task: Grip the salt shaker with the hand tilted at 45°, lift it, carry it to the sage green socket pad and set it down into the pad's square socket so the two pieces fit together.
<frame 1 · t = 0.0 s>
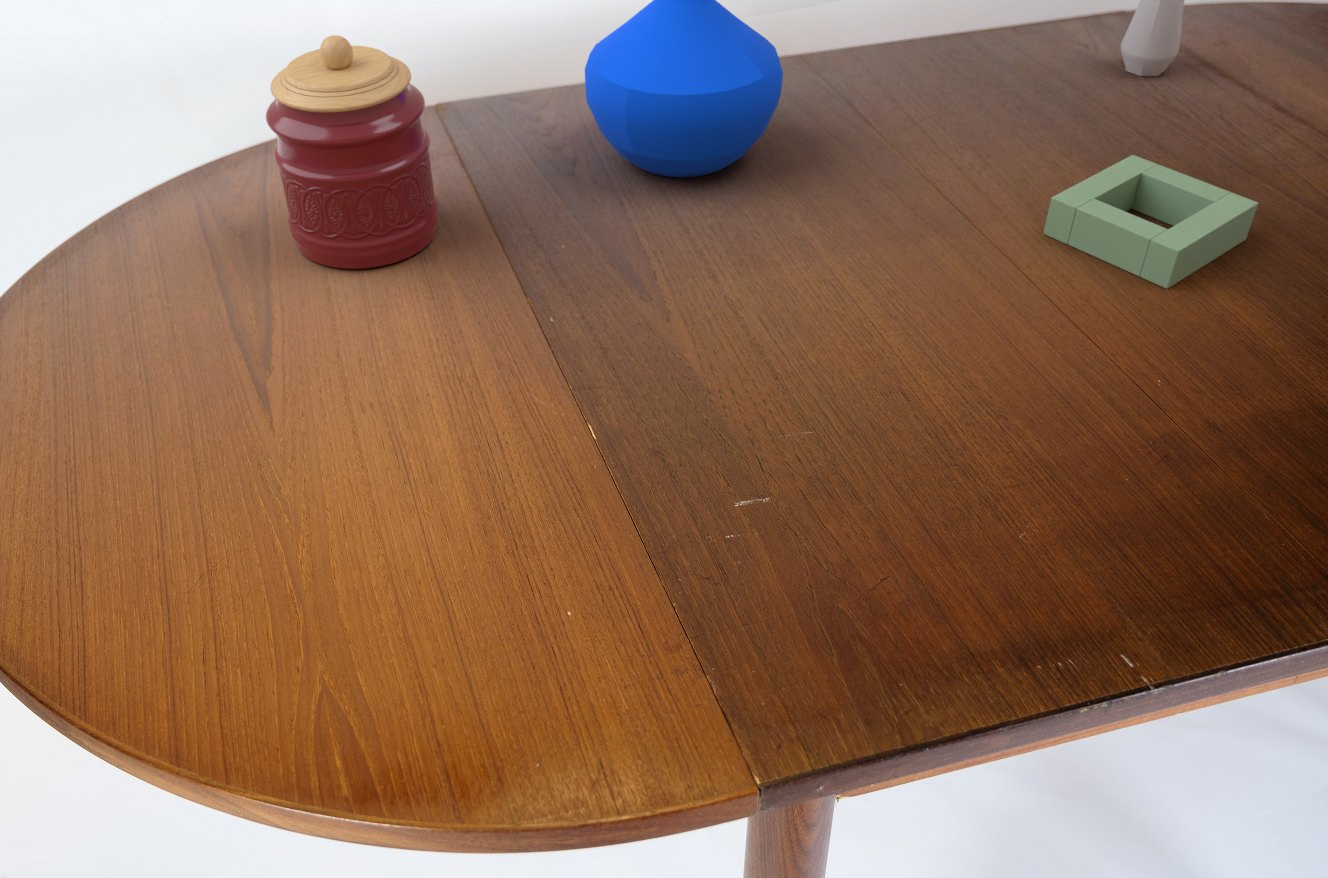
vase: (681, 156, 120), on the table
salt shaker: (1143, 70, 133), on the table
pad socket: (1143, 236, 106), on the table
kitchen canister: (367, 236, 110), on the table
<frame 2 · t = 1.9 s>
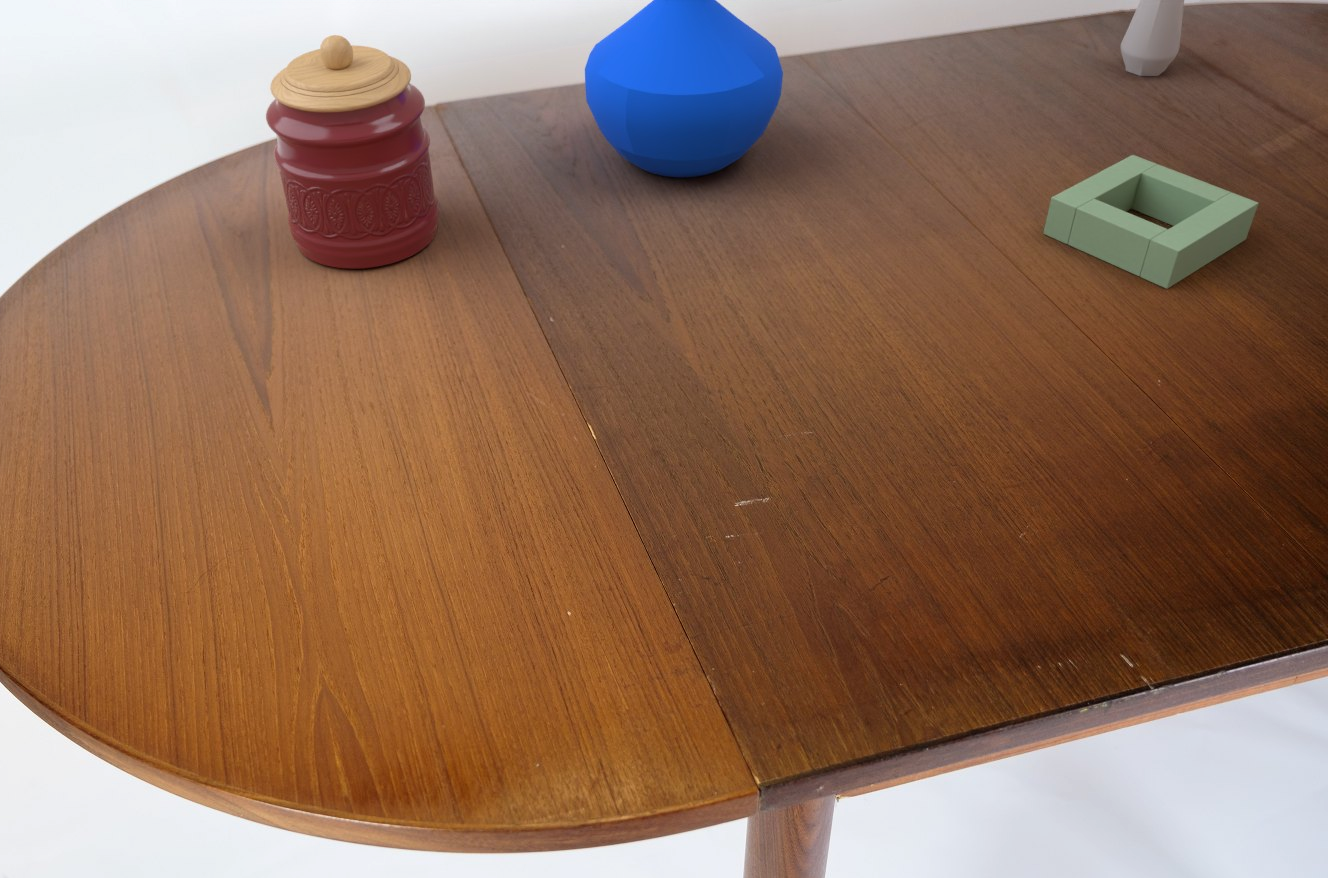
nothing on the table moved.
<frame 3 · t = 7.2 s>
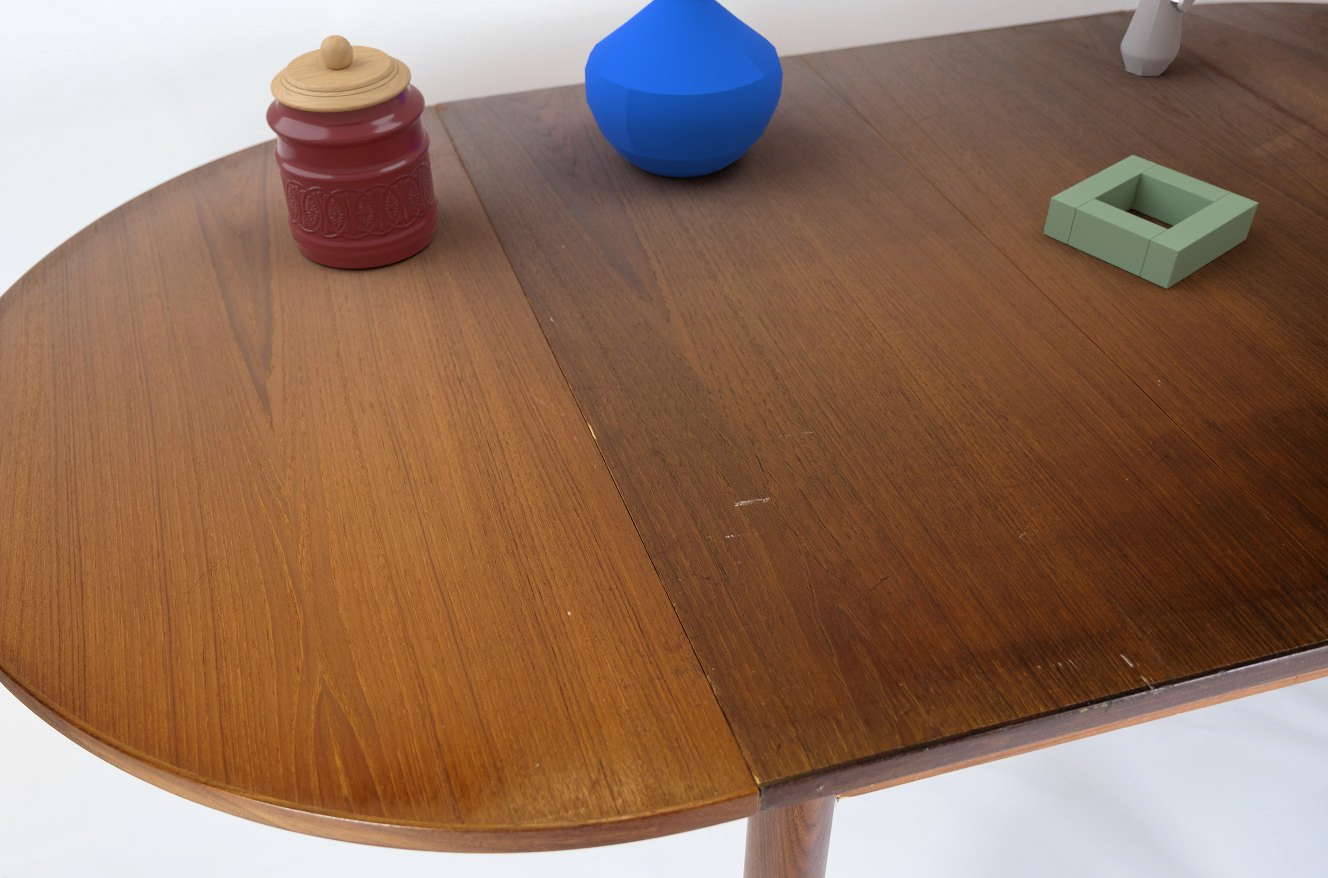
hand: (1157, 2, 128), 7 cm above the table, tool tilted 45°, fingers closed on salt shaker, 3 cm apart
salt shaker: (1143, 70, 133), on the table, touching gripper
everything else where it was.
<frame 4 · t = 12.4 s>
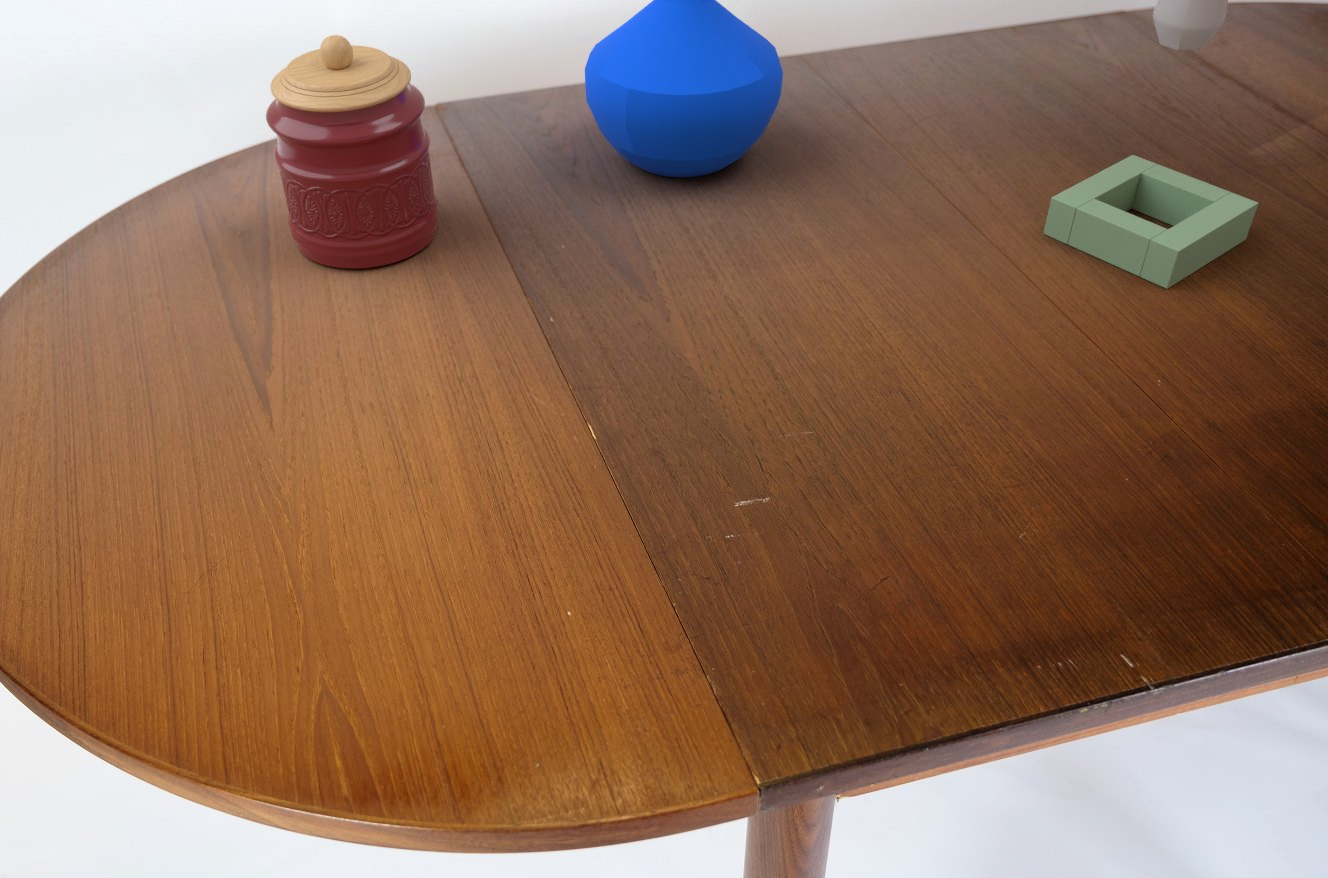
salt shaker: (1181, 44, 108), point 12 cm above the table, touching gripper
everything else where it was.
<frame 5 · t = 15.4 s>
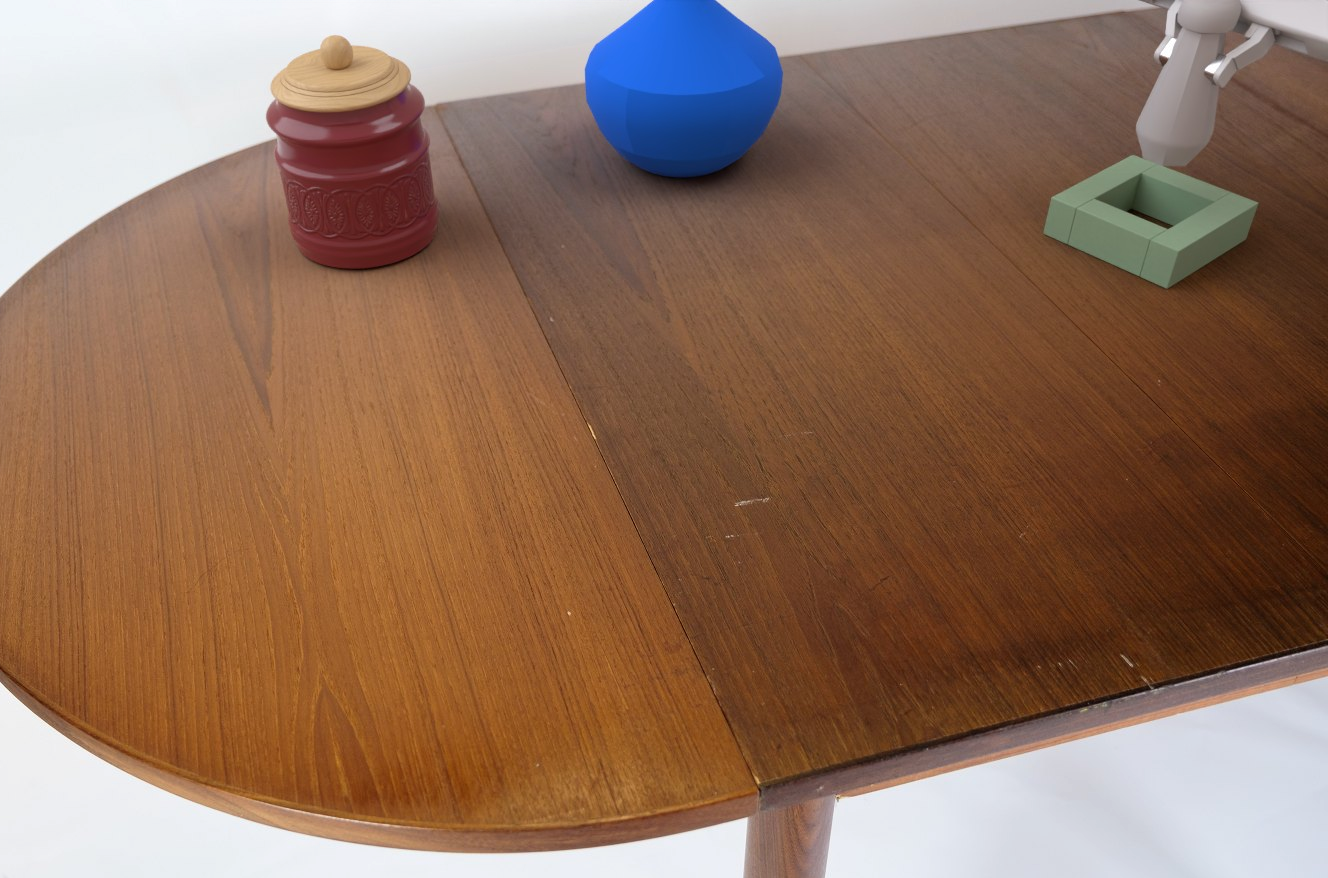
hand: (1186, 72, 96), 15 cm above the table, tool tilted 45°, fingers closed on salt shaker, 3 cm apart
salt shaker: (1165, 157, 101), point 7 cm above the table, touching gripper
everything else where it was.
when the fingers open (7 cm above the table, at t = 17.7 s): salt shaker stays where it is, resting in pad socket.
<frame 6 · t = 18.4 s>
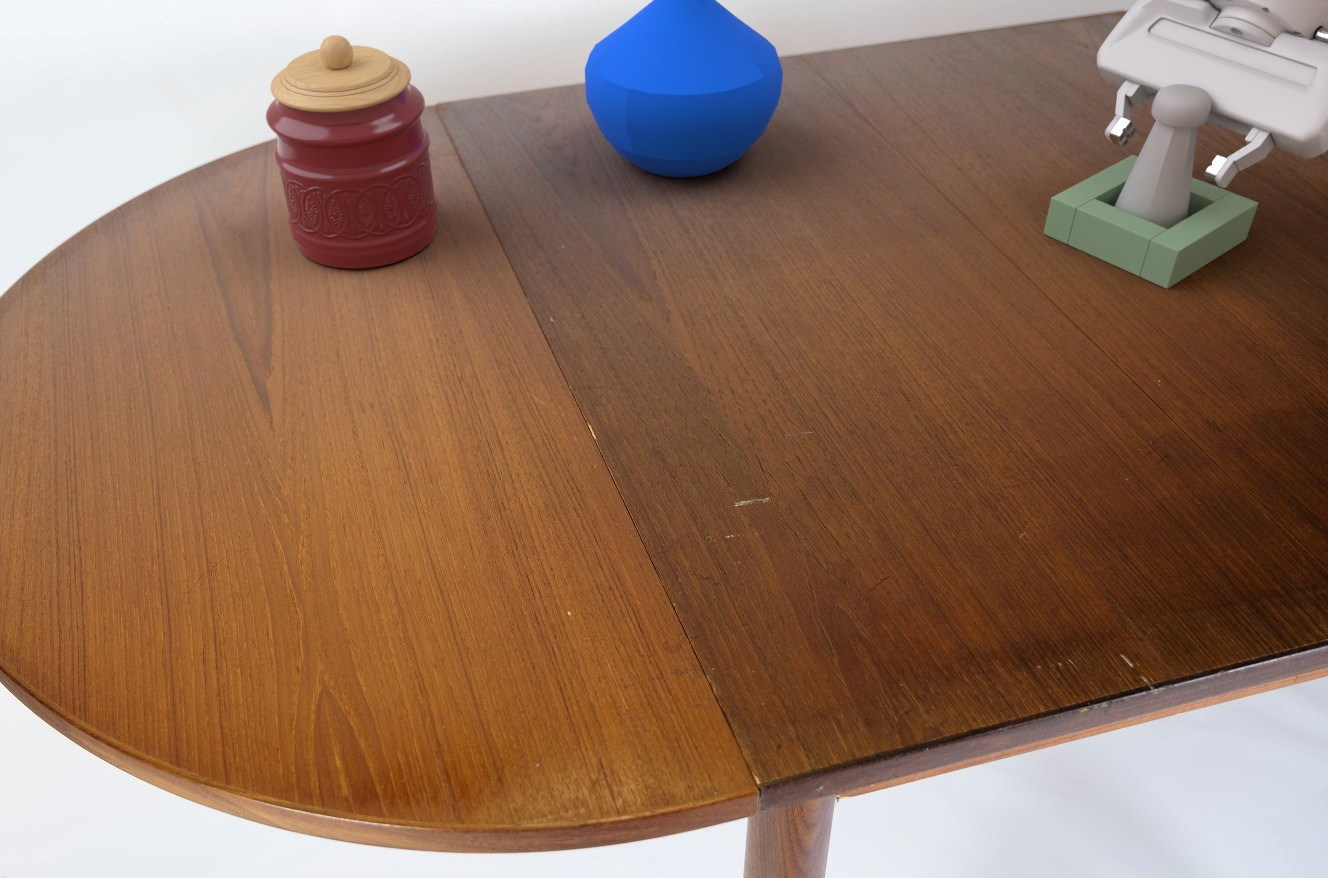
hand: (1162, 160, 101), 7 cm above the table, tool tilted 45°, fingers open, 8 cm apart
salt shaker: (1142, 238, 106), resting in pad socket
everything else where it was.
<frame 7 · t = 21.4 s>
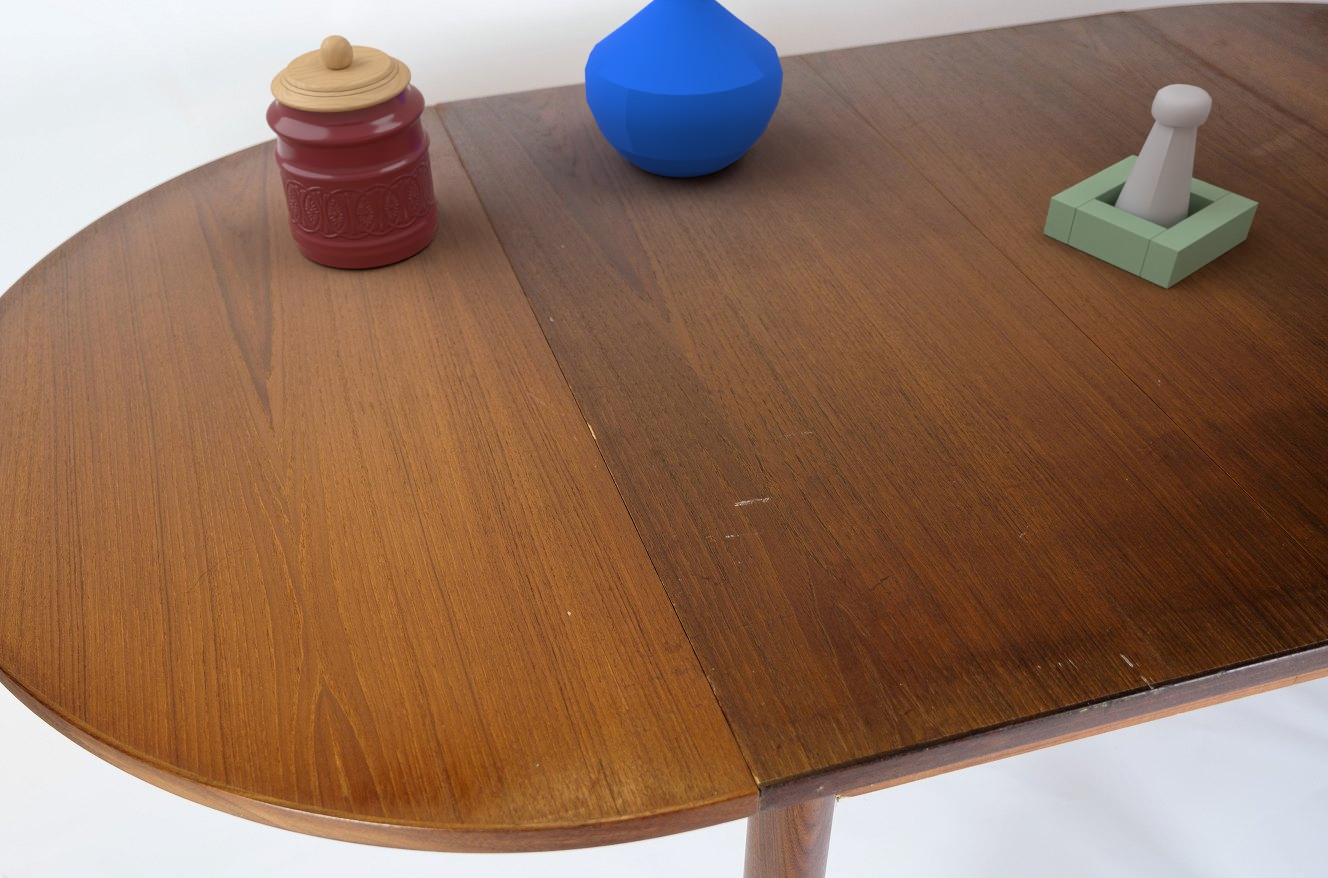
nothing on the table moved.
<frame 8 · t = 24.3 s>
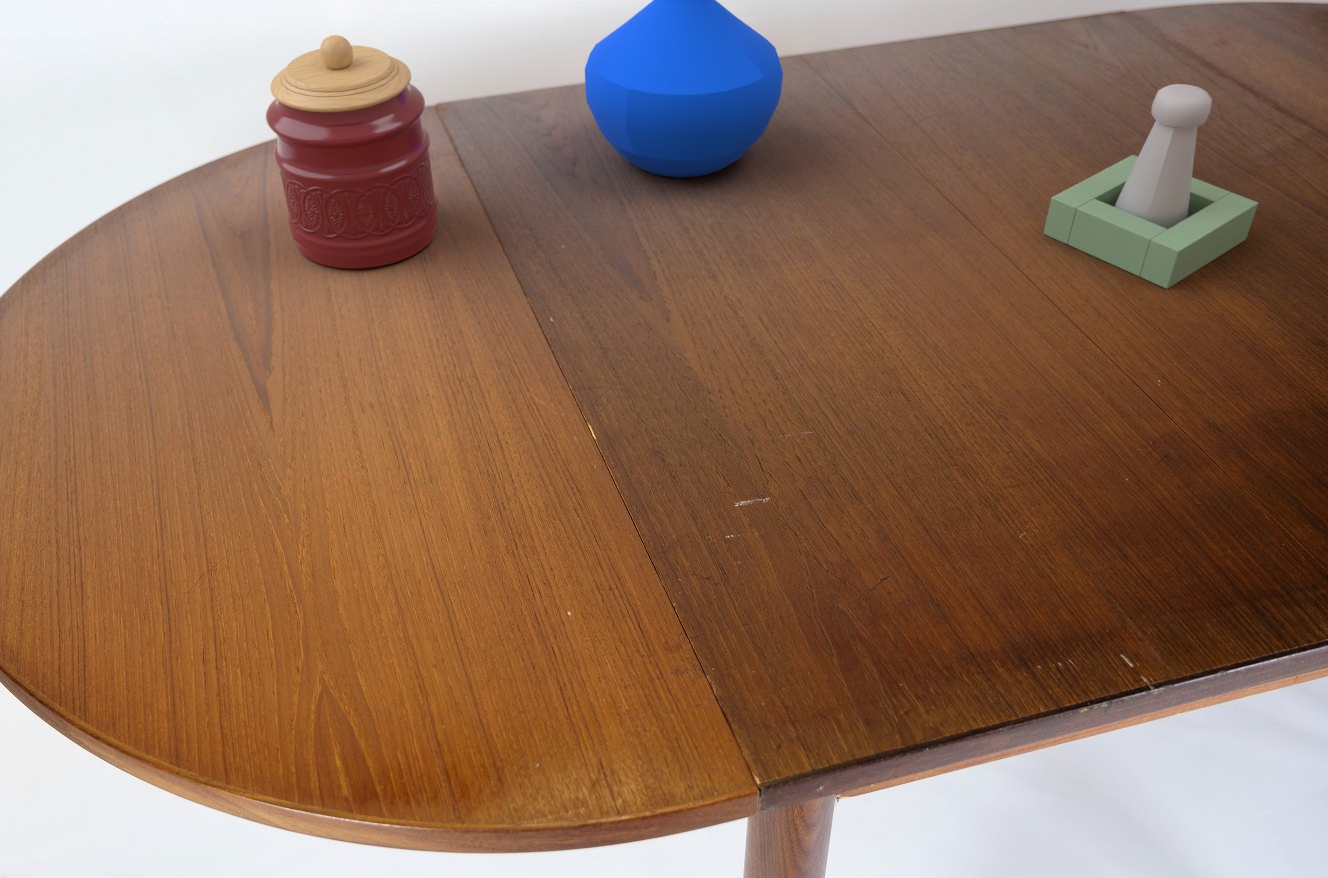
nothing on the table moved.
at the end: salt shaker 0.0 cm off-centre in the pad socket, point 0.0 cm above the pad socket's base; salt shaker tilted 0°; the gripper is holding nothing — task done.
